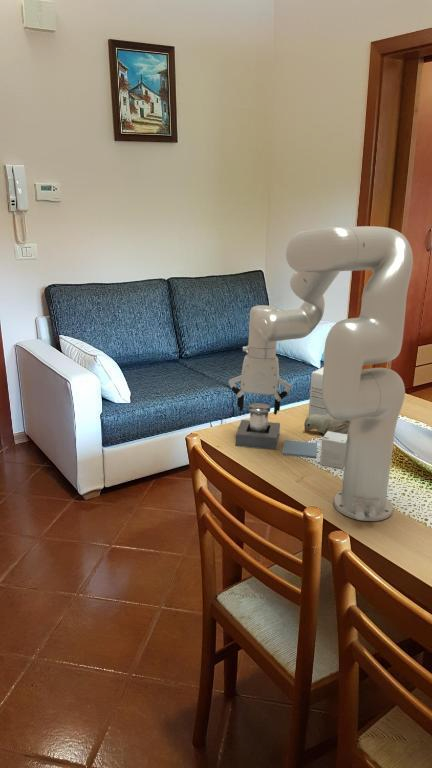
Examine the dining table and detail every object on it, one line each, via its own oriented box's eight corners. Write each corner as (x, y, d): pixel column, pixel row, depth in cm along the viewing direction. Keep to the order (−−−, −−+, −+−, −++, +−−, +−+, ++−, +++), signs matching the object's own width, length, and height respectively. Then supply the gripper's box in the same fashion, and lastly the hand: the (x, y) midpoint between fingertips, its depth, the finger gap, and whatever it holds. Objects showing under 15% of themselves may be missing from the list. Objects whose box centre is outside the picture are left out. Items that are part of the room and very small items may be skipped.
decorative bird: (305, 428, 168) (307, 405, 165) (360, 436, 163) (362, 412, 161) (302, 435, 163) (304, 411, 161) (358, 443, 158) (361, 418, 156)
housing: (276, 449, 152) (276, 437, 151) (235, 445, 154) (235, 434, 153) (279, 434, 163) (280, 423, 162) (241, 430, 165) (241, 419, 164)
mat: (316, 458, 148) (316, 456, 147) (282, 454, 149) (282, 452, 149) (317, 444, 156) (317, 442, 156) (284, 441, 158) (284, 439, 157)
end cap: (267, 445, 155) (269, 411, 152) (245, 443, 156) (247, 409, 153) (269, 437, 161) (271, 404, 158) (248, 435, 162) (250, 402, 159)
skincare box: (348, 460, 147) (350, 434, 145) (342, 469, 142) (345, 442, 139) (325, 456, 149) (327, 430, 147) (319, 464, 144) (321, 438, 142)
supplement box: (319, 409, 184) (323, 365, 179) (345, 416, 179) (349, 370, 174) (307, 417, 177) (310, 371, 172) (333, 424, 172) (337, 377, 167)
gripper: (227, 352, 149) (225, 413, 154) (293, 358, 146) (288, 419, 151) (232, 346, 156) (230, 403, 161) (294, 351, 153) (290, 409, 158)
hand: (258, 411), depth 156 cm, fingers open, 9 cm apart
